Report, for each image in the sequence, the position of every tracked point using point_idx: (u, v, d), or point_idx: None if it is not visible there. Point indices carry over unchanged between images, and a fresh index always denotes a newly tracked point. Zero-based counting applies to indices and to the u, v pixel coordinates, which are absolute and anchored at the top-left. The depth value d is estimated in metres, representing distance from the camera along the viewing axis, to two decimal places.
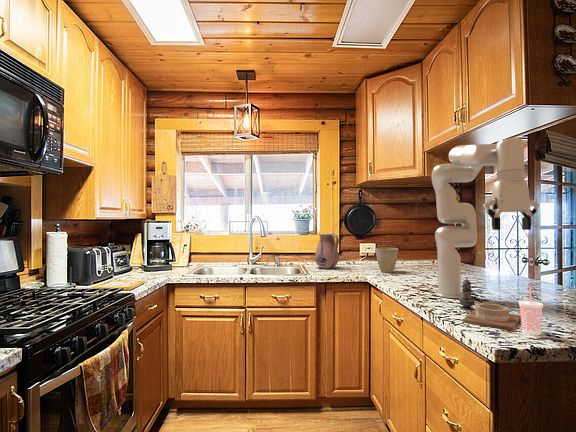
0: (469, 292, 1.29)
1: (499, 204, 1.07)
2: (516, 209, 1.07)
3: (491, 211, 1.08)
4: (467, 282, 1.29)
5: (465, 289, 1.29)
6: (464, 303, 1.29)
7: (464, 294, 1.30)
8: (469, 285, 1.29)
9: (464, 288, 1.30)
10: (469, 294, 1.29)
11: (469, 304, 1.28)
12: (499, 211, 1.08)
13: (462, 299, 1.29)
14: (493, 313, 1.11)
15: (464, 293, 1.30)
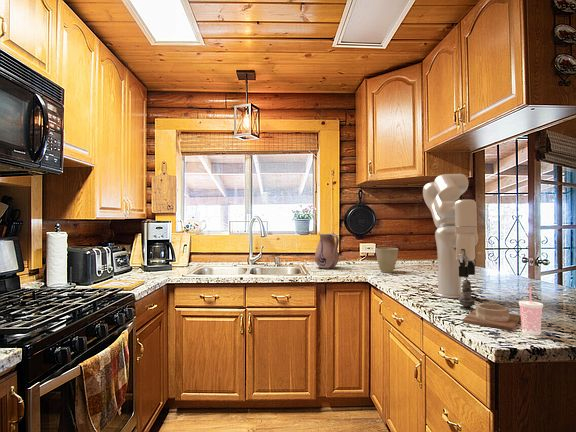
0: (469, 292, 1.29)
1: (468, 255, 1.25)
2: (472, 259, 1.29)
3: (464, 261, 1.24)
4: (467, 282, 1.29)
5: (465, 289, 1.29)
6: (464, 303, 1.29)
7: (464, 294, 1.30)
8: (469, 285, 1.29)
9: (464, 288, 1.30)
10: (469, 294, 1.29)
11: (469, 304, 1.28)
12: (467, 261, 1.26)
13: (462, 299, 1.29)
14: (493, 313, 1.11)
15: (464, 293, 1.30)
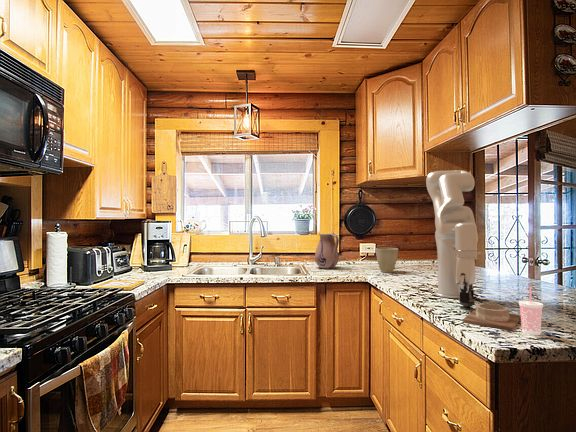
0: (469, 292, 1.29)
1: (468, 279, 1.26)
2: (472, 282, 1.29)
3: (465, 288, 1.26)
4: None
5: None
6: (464, 303, 1.29)
7: None
8: (469, 285, 1.29)
9: None
10: (469, 294, 1.29)
11: (469, 304, 1.28)
12: (468, 287, 1.27)
13: None
14: (493, 313, 1.11)
15: None
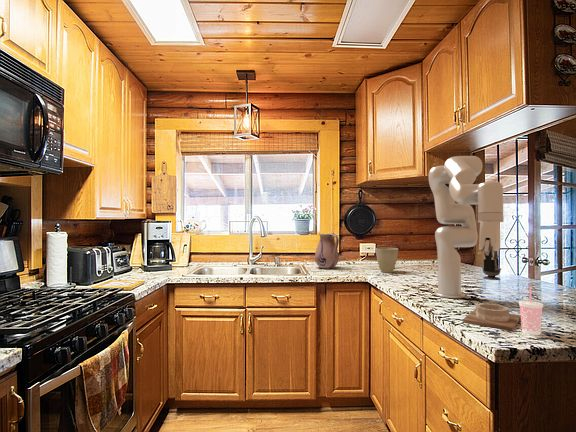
0: None
1: (494, 244, 1.11)
2: (498, 249, 1.14)
3: (490, 254, 1.11)
4: None
5: None
6: (489, 272, 1.14)
7: None
8: (494, 251, 1.14)
9: None
10: None
11: (494, 273, 1.13)
12: (493, 253, 1.12)
13: None
14: (493, 313, 1.11)
15: None
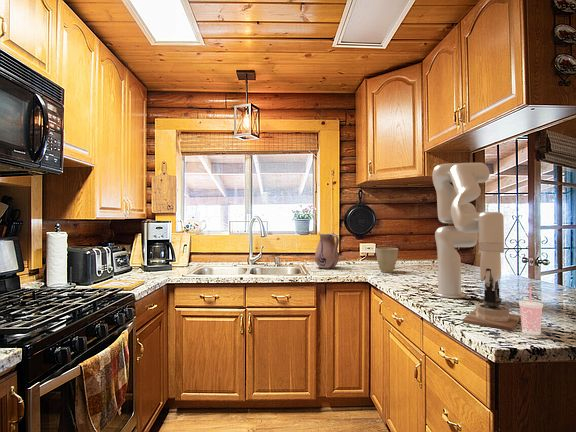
0: (495, 290, 1.14)
1: (495, 276, 1.10)
2: (498, 279, 1.14)
3: (491, 285, 1.11)
4: None
5: None
6: (489, 302, 1.13)
7: None
8: (495, 282, 1.14)
9: None
10: None
11: (495, 304, 1.13)
12: (494, 284, 1.12)
13: None
14: (493, 313, 1.11)
15: None
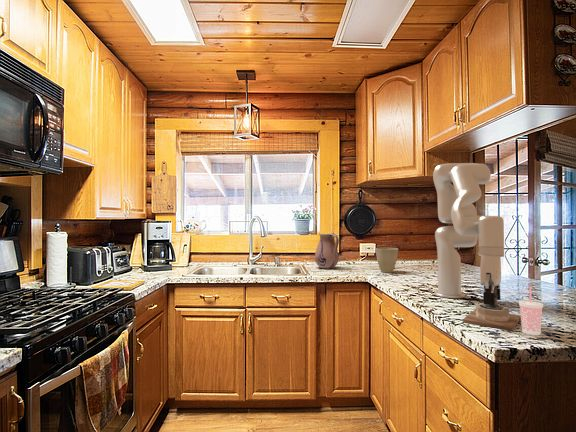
0: (495, 298, 1.14)
1: (495, 280, 1.10)
2: (499, 283, 1.14)
3: (490, 287, 1.10)
4: None
5: None
6: None
7: None
8: (495, 290, 1.14)
9: None
10: (495, 300, 1.14)
11: None
12: (493, 286, 1.11)
13: (487, 306, 1.14)
14: (493, 313, 1.11)
15: None
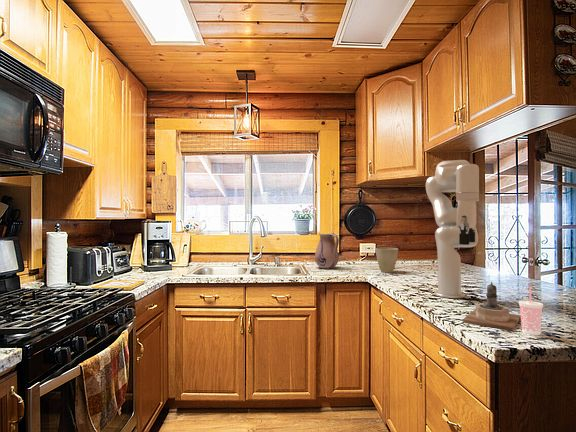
0: (495, 298, 1.14)
1: (470, 222, 1.21)
2: (473, 226, 1.25)
3: (465, 228, 1.20)
4: (492, 287, 1.14)
5: (490, 295, 1.14)
6: None
7: (489, 300, 1.15)
8: (495, 290, 1.14)
9: (489, 294, 1.15)
10: (495, 300, 1.14)
11: None
12: (468, 228, 1.22)
13: (487, 306, 1.14)
14: (493, 313, 1.11)
15: (489, 299, 1.15)
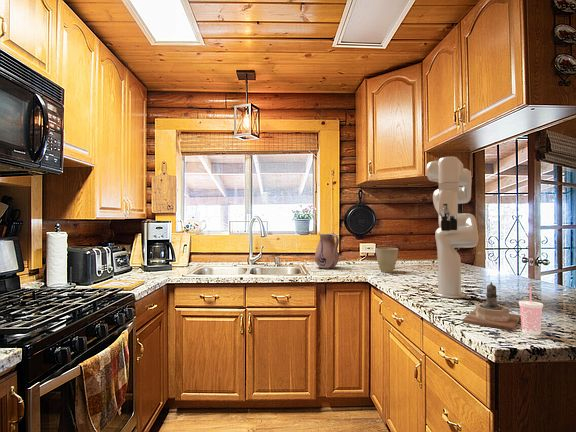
0: (494, 298, 1.14)
1: (450, 209, 1.30)
2: (454, 214, 1.34)
3: None
4: (492, 287, 1.14)
5: (490, 295, 1.14)
6: None
7: (489, 300, 1.15)
8: (494, 290, 1.14)
9: (489, 294, 1.15)
10: (495, 300, 1.14)
11: None
12: (449, 215, 1.30)
13: (486, 306, 1.14)
14: (493, 313, 1.11)
15: (489, 299, 1.15)
